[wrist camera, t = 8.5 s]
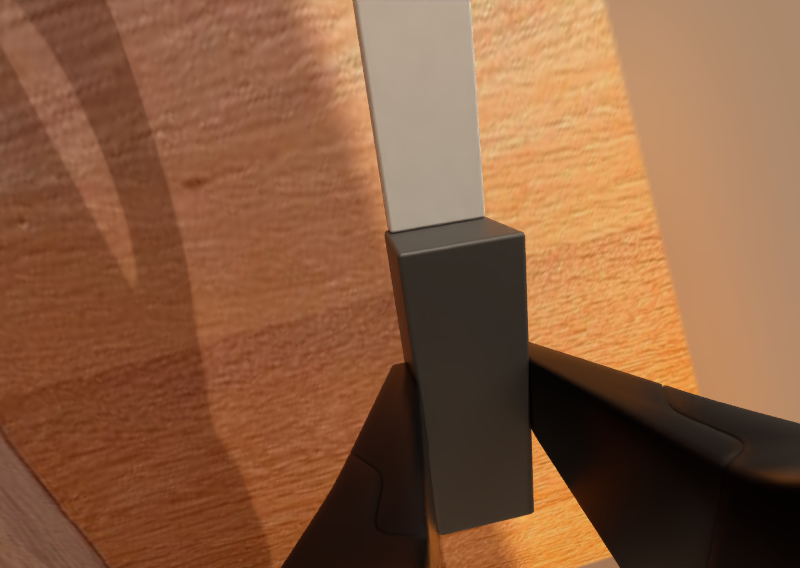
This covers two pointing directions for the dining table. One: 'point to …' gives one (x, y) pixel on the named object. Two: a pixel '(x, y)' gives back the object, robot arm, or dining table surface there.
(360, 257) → the dining table surface
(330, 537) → the robot arm
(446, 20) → the two-tone stick
